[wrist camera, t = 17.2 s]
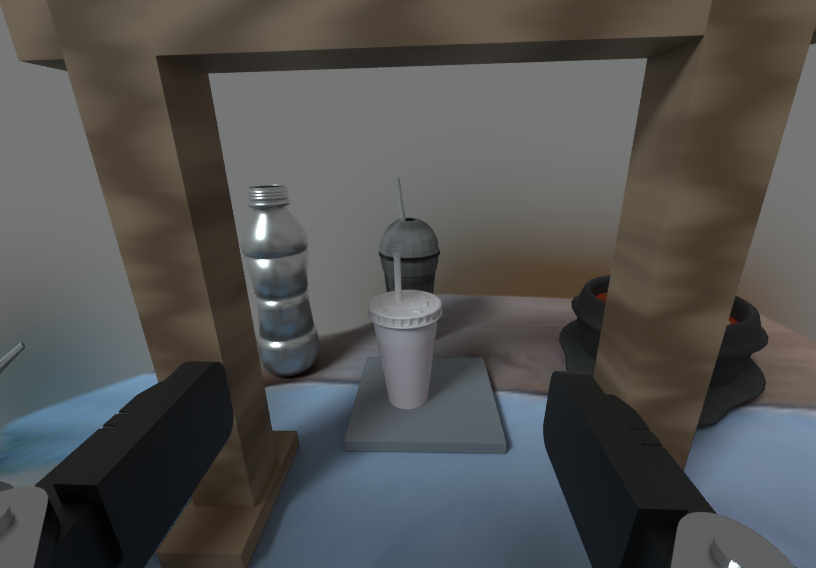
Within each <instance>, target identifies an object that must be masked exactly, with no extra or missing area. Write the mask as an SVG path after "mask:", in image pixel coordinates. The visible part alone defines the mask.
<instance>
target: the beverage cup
mask: <svg viewBox="0 0 816 568" xmlns="http://www.w3.org/2000/svg"><path fill="white" fill-rule="evenodd" d="M395 184H396V191H397V198H398V204H399V211H400V218H401V219H399V220H397V221H395V222H393V223H392V224H391V225H390V226H389V227H388V228H387V229H386V231H385V232H384V235H383V237H382V240H381V243H380V251H379V256H380V258H381V264H382V268H383V271H384V274H385V282H386V289H387V292H391V291H395V278H394V256H393V253H396V252H398V253H400V264H401V290H419V291H424V292H428V293H431V294H433V291H434V278H435V271H436V268H437V264H438V255H440V250H439V248H438V241H437V237H436V235H435V233H434V231H433V230H432V228H431V227H430V226H429V225H428V224H427V223H425V222H424V221H422V220H420V219H417V218H405V214H404V207H403V200H402V193H401V187H400V181H399V179H395Z"/></svg>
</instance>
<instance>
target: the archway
mask: <svg viewBox="0 0 816 568" xmlns="http://www.w3.org/2000/svg"><path fill="white" fill-rule="evenodd" d="M0 4H1V7H2V11H3V13H4V17H5V20H6V23H7V26H8V29H9V32H10V35H11V38H12V41H13V44H14V47H15V50H16V53H17V56H18V59H19V61H23V62H27V63H32V64H37V65H41V66H46V67H51V68H55V69H60V70H65V71H68V75H69V78H70V82H71V85H72V88H73V92H74V95H75V99H76V102H77V106H78V109H79V112H80V116H81V119H82V123H83V126H84V130H85V133H86V136H87V140H88V143H89V147H90V150H91V153H92V157H93V160H94V164H95V167H96V171H97V174H98V177H99V181H100V184H101V188H102V191H103V195H104V198H105V201H106V205H107V208H108V212H109V215H110V218H111V222H112V225H113V228H114V232H115V235H116V239H117V242H118V246H119V249H120V253H121V256H122V259H123V263H124V266H125V270H126V273H127V277H128V280H129V283H130V287H131V290H132V294H133V297H134V301H135V304H136V307H137V311H138V314H139V318H140V321H141V324H142V328H143V331H144V334H145V338H146V342H147V345H148V348H149V352H150V355H151V359H152V362H153V366H154V369H155V372H156V376H157V379H158V383H159V382H161V381H164V380H165V379H166V378H167V377H168V376H170V375H171V374H172V373H173V372H174V371H175V370H176V369H177V368H178V367H179V366H180V365H182V364H183V363H184V362H186V361H211V362H220V363H222V364H223V366H224V368H225V372H226V377H227V382H228V387H229V392H230V397H231V402H232V407H233V412H234V422H233V428H232V431H231V434H230V437H229V439H228V440H227V442H226V443H225V445H224V446H223V448H222V449H221V451H220V453H219V454H218V456H217V457H216V459H215V460H214V462H213V463H212V465H211V466H210V468H209V469H208V471H207V472H206V474H205V475H204V477H203V478H202V480H201V481H200V483H199V484H198V486H197V487H196V489H195V491H194V492H193V494H192V495H191V496H192V499H191V501H190V502H189V504H188V505H187V507H186V508H185V510H184V511H183V513H182V514H181V516H180V517H179V519H178V520H177V522H176V523H175V525H174V526H173V528H172V529H171V531H170V532H169V534H168V535H167V537H166V538H165V540H164V541H163V543H162V544H161V546H160V547H159V549H158V550H157V552H156V553H157V556H158V559H159V562H160V564H161V567H162V568H247V567H248V565H249V562H250V560H251V558H252V555H253V553H254V551H255V548H256V546H257V544H258V541H259V539H260V536H261V534H262V532H263V529H264V527H265V525H266V522H267V520H268V518H269V515H270V513H271V511H272V508H273V506H274V504H275V501H276V499H277V497H278V494H279V492H280V489H281V487H282V485H283V482H284V480H285V478H286V475H287V473H288V471H289V468H290V466H291V464H292V461H293V459H294V457H295V454H296V452H297V450H298V447H299V441H298V434H297V431H272V426H271V421H270V415H269V410H268V404H267V398H266V393H265V387H264V382H263V376H262V371H261V365H260V360H259V354H258V349H257V343H256V337H255V332H254V327H253V321H252V315H251V310H250V305H249V299H248V293H247V288H246V282H245V276H244V271H243V265H242V260H241V254H240V249H239V243H238V238H237V232H236V226H235V221H234V216H233V210H232V204H231V199H230V193H229V188H228V182H227V177H226V172H225V165H224V160H223V154H222V149H221V143H220V139H219V132H218V127H217V121H216V116H215V110H214V104H213V99H212V93H211V88H210V82H209V77H208V73H231V72H232V73H233V72H261V71H291V70H320V69H348V68H377V67H405V66H434V65H464V64H492V63H521V62H547V61H548V62H549V61H576V60H577V61H579V60H608V59H636V58H647V64H646V70H645V76H644V82H643V88H642V94H641V99H640V106H639V111H638V117H637V123H636V129H635V135H634V141H633V147H632V152H631V158H630V164H629V170H628V176H627V182H626V188H625V194H624V200H623V205H622V211H621V217H620V224H619V229H618V235H617V240H616V246H615V252H614V258H613V264H612V270H611V276H610V282H609V287H608V293H607V299H606V305H605V311H604V317H603V323H602V329H601V334H600V340H599V346H598V352H597V358H596V364H595V370H594V376H593V378H594V379H595V380H596V382H597V383H598V385H599V386H600V387H601V389H602V390H603V392H604V393H605V394H613V395H615V396H617V397H618V398H620V399H621V400H622V401H624V402H625V403H626V404H628V405H629V406H631V407H632V408H633V409H635V410H636V411H637V413H638V414H639V415H640V417H641V418H642V419H643V420H644V422H645V423H646V424H647V425H648V427H649V428H650V432H653V433H654V434H655V436H656V437H657V438H658V440H659V441H660V442H661V443H662V447H663V448H666V450H667V451H668V452H669V454H670V455H671V456H672V457H673V459H674V460H675V461H676V463H677V464H678V465H679V466H680V468H681V469H682V470H683V471H684V468H685V465H686V462H687V458H688V455H689V451H690V448H691V445H692V441H693V438H694V435H695V431H696V428H697V424H698V421H699V418H700V414H701V411H702V407H703V404H704V401H705V397H706V394H707V391H708V387H709V384H710V380H711V377H712V374H713V370H714V367H715V363H716V360H717V357H718V353H719V350H720V346H721V343H722V340H723V336H724V333H725V330H726V326H727V323H728V319H729V316H730V313H731V309H732V306H733V302H734V299H735V296H736V292H737V289H738V285H739V282H740V279H741V275H742V272H743V268H744V265H745V262H746V258H747V255H748V251H749V248H750V245H751V242H752V238H753V235H754V231H755V228H756V225H757V221H758V217H759V214H760V211H761V207H762V204H763V201H764V198H765V194H766V191H767V187H768V184H769V180H770V177H771V174H772V170H773V167H774V164H775V160H776V157H777V153H778V150H779V147H780V143H781V140H782V136H783V133H784V130H785V126H786V123H787V119H788V116H789V113H790V110H791V106H792V103H793V99H794V96H795V93H796V89H797V85H798V82H799V79H800V75H801V72H802V69H803V65H804V62H805V59H806V55H807V52H808V48H809V45H811V44H815V43H816V0H0Z"/></svg>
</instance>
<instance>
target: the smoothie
mask: <svg viewBox="0 0 816 568" xmlns="http://www.w3.org/2000/svg"><path fill="white" fill-rule="evenodd" d="M393 256H394V278H395V291H391V292H386V293H383V294H381V295H378V296H376V297H375V298H373V299H372V300H371V301H370V303H369V305H368V306H369V318H370V319H371V320H372V322H374V328H375V333H376V338H377V343H378V348H379V353H380V357H381V362H382V367H383V372H384V377H385V382H386V387H387V392H388V397H389V401H390V403H391V404H392V405H394V406H395V407H397V408H401V409H414V408H418V407H420V406H422V405H423V404H424V403H425V402H426V401H427V398H428V391H429V383H430V376H431V368H432V360H433V353H434V345H435V337H436V330H437V321H438V319H439V318H440V317H441V316H442V309H441V300H440V299H439V298H438V297H437V296H435V295H433V294H431V293H428V292H424V291H419V290H401V264H400V253H398V252H396V253H393Z"/></svg>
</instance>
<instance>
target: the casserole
mask: <svg viewBox="0 0 816 568" xmlns="http://www.w3.org/2000/svg"><path fill="white" fill-rule="evenodd" d="M610 276H611V275H607V276H602V277H597V278H595V279H592V280H590V281H588V282H587V283H586V284H585V286H584V288H583V289H582V291H581V293H580V294H578V295H577V296H575V297H574V299H573V300H572V309H573V311H574V312H575V314H576V315H577V320H575V321H572V322H570V323H569V324H568V325H566V326H565V327H564V328H563V329H562V331H561V333H560V339H559V341H560V344H561V346H562V349H563V351H564V353H565V356H566V370H567V371H573V372H589V373H590V374H591V375H592V376H594V370H595V364H596V358H597V352H598V346H599V340H600V334H601V329H602V323H603V317H604V311H605V305H606V299H607V293H608V287H609V282H610ZM767 343H768V336H767V334H766V332H765V330H764V329H763V328H762V327H761V321H760V315H759V313H758V311H757V309H756V308H755V307H753V306H752V305H751V304H750V303H748V302H747V301H745V300H743V299H742V298H740V297H737V296H735V299H734V302H733V306H732V309H731V313H730V316H729V319H728V323H727V326H726V330H725V333H724V336H723V340H722V343H721V346H720V350H719V353H718V357H717V360H716V363H715V367H714V370H713V374H712V377H711V380H710V384H709V387H708V391H707V394H706V397H705V401H704V404H703V407H702V411H701V414H700V418H699V421H698V424H697V426H704V425H711V424H716V423H717V422H718V421H719V420H721V419H722V418H723V417H724V416H725V415H726V414H727V413H728V412H729V411H730V410H731V409H732V408H733V407H736V406H738V405H740V404H743V403H745V402H747V401H750V400H752V399H754V398H757V397H758V396H759V395H760V394H761V393H762V392H763V391H764V390H765V384H766V380H765V377H764V375H763V372H762V371H761V369H760V368H759V367H758V366H757V365H756V363H755V362H754V361H753V360H752V359H751V358H750V356H751V355H752V353H755V352H757V351H760V350H761V349H763V348H764V347H765V346H766V345H767Z"/></svg>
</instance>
